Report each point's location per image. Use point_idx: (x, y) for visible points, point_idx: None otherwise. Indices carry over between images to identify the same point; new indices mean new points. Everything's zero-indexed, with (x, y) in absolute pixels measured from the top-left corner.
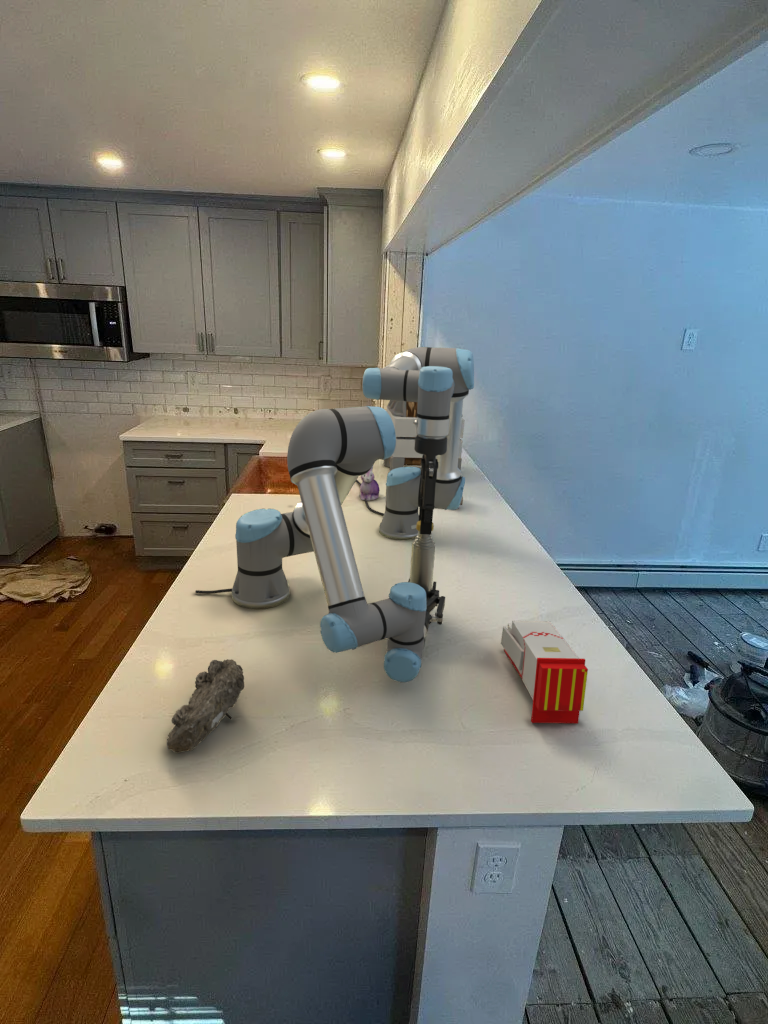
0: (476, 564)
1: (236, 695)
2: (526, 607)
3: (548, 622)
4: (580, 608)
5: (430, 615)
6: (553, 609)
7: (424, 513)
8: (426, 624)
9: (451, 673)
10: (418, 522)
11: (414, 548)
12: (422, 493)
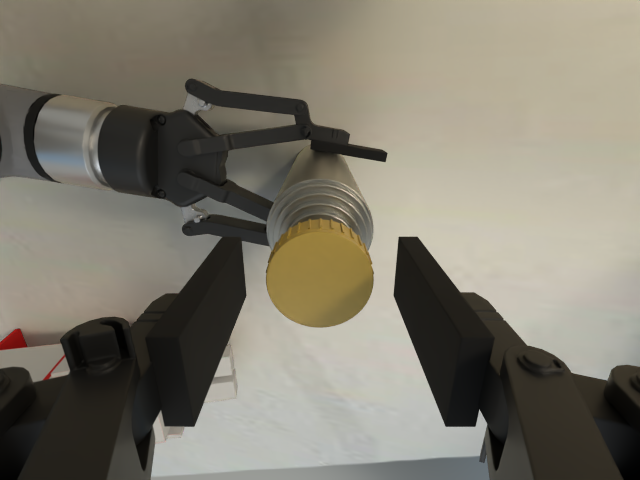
0: (578, 324)
1: None
2: (370, 384)
3: (159, 439)
4: (370, 459)
5: (180, 204)
6: (364, 422)
7: (142, 335)
8: (119, 191)
9: (110, 224)
10: (328, 242)
11: (287, 188)
12: (508, 397)
